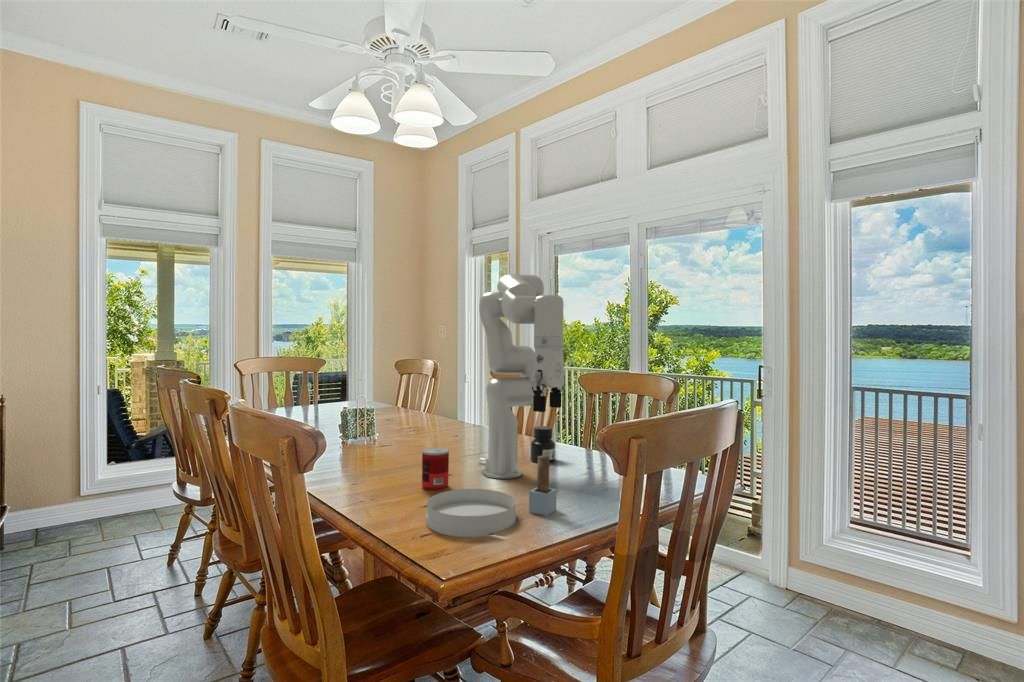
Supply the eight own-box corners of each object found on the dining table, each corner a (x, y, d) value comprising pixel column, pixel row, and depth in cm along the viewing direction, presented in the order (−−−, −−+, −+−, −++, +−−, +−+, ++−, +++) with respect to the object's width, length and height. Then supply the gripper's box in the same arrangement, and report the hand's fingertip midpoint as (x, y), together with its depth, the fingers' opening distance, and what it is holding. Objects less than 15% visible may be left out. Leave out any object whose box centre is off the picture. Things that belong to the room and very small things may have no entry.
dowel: (534, 511, 140) (535, 457, 140) (540, 508, 143) (540, 455, 143) (545, 513, 139) (546, 458, 139) (550, 510, 141) (551, 456, 141)
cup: (529, 514, 140) (529, 491, 140) (538, 508, 144) (538, 486, 144) (547, 518, 137) (547, 494, 137) (556, 512, 142) (556, 489, 142)
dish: (440, 544, 121) (440, 521, 121) (416, 513, 141) (416, 493, 141) (531, 530, 129) (531, 509, 129) (496, 503, 150) (496, 485, 150)
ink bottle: (549, 465, 192) (549, 431, 192) (526, 462, 196) (526, 428, 196) (558, 459, 201) (559, 426, 201) (536, 456, 205) (537, 424, 205)
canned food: (453, 485, 166) (453, 448, 165) (438, 492, 158) (439, 454, 158) (431, 481, 169) (432, 446, 169) (416, 488, 162) (417, 451, 161)
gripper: (547, 343, 132) (546, 414, 132) (574, 343, 147) (573, 406, 147) (519, 343, 136) (519, 412, 136) (549, 342, 151) (548, 404, 151)
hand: (547, 409), depth 142 cm, fingers open, 9 cm apart
